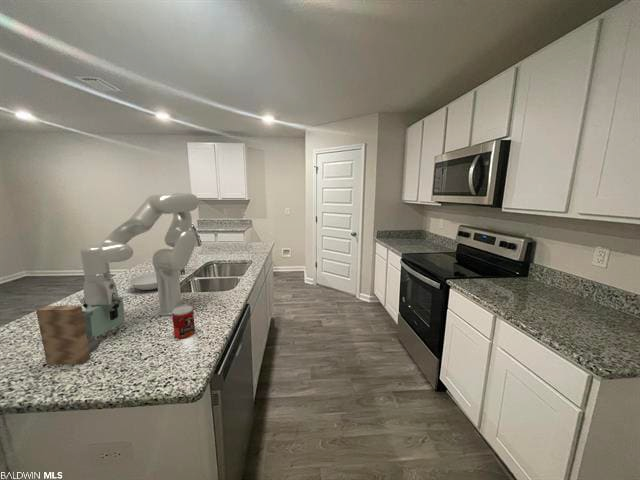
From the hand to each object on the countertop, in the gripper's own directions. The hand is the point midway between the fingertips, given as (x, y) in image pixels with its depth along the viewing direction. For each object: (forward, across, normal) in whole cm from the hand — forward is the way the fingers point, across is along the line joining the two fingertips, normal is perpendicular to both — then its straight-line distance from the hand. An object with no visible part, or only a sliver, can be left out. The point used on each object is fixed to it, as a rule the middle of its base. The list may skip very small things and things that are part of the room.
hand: (104, 318), depth 101 cm
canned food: (+8, -31, -2) cm, 32 cm away
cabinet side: (+8, 0, +12) cm, 15 cm away
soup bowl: (+8, +16, -55) cm, 58 cm away
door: (+5, 0, +2) cm, 5 cm away
